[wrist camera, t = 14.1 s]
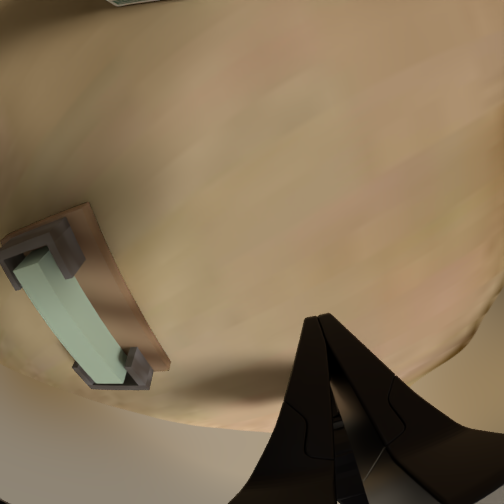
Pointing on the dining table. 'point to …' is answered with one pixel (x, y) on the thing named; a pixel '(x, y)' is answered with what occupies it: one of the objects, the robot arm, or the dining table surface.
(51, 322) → the slat
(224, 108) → the dining table surface
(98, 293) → the frame
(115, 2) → the syrup box
